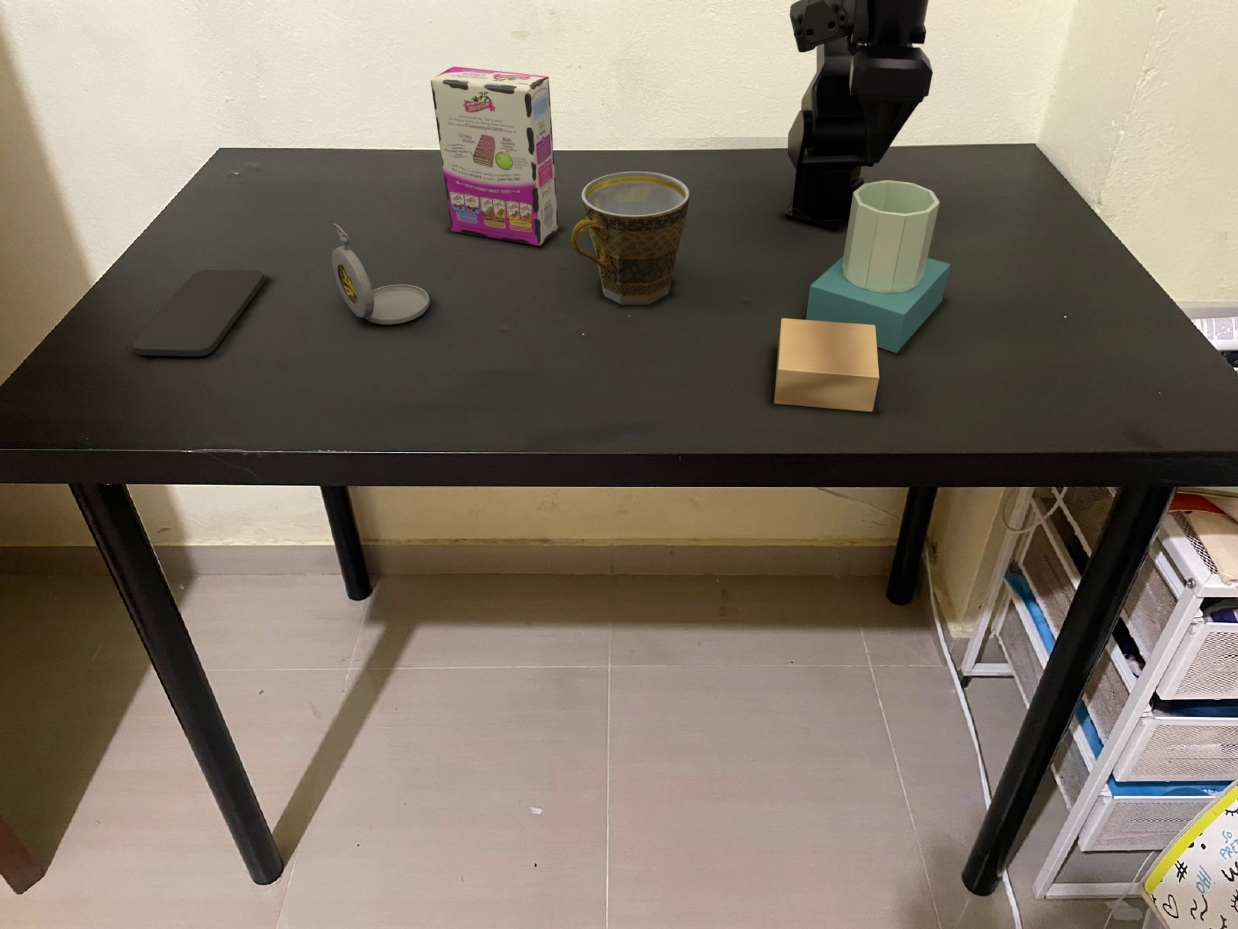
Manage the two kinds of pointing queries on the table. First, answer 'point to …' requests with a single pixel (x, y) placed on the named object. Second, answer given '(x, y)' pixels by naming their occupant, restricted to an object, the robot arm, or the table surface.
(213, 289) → the phone
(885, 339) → the box
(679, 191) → the ceramic cup
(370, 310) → the pocket watch
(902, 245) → the pale green faceted cup
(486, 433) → the table surface
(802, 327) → the tan block
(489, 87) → the candy bar box
